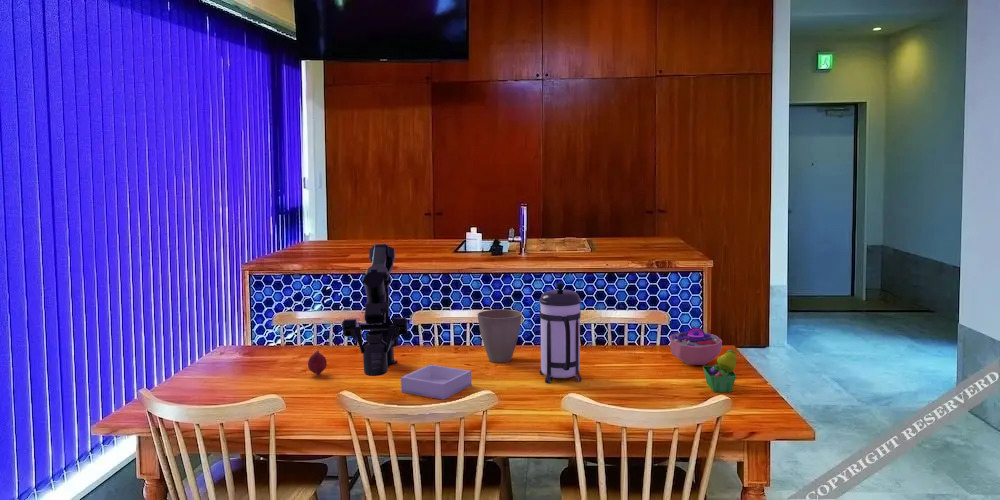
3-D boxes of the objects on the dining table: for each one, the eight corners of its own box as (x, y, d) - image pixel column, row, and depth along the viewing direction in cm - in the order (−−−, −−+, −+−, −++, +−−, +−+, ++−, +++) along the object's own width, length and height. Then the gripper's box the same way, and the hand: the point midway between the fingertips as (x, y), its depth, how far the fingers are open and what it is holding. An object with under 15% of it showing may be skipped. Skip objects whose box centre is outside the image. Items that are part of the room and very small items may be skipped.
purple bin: (430, 378, 239) (430, 364, 238) (471, 385, 231) (471, 370, 231) (401, 391, 226) (400, 377, 225) (443, 399, 218) (443, 384, 218)
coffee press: (524, 379, 236) (523, 283, 233) (556, 368, 248) (556, 276, 244) (568, 390, 225) (568, 290, 221) (600, 378, 236) (600, 282, 232)
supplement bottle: (391, 370, 225) (390, 330, 223) (381, 377, 218) (380, 336, 216) (370, 368, 226) (368, 329, 225) (359, 375, 220) (358, 335, 218)
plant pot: (531, 360, 257) (530, 314, 255) (494, 368, 249) (493, 320, 247) (505, 351, 269) (505, 307, 267) (469, 358, 261) (468, 312, 259)
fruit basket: (701, 381, 232) (702, 345, 230) (730, 381, 231) (731, 345, 230) (710, 393, 220) (711, 355, 219) (741, 393, 220) (742, 355, 219)
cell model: (663, 368, 246) (664, 334, 244) (674, 353, 264) (674, 321, 263) (718, 374, 239) (718, 338, 238) (724, 357, 258) (725, 324, 256)
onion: (322, 377, 241) (321, 353, 240) (305, 377, 242) (304, 352, 241) (330, 372, 247) (328, 348, 246) (313, 371, 248) (312, 347, 247)
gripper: (341, 292, 222) (338, 339, 213) (406, 290, 224) (405, 337, 214) (345, 312, 231) (342, 358, 222) (407, 311, 232) (407, 356, 223)
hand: (374, 352), depth 220 cm, fingers closed on supplement bottle, 7 cm apart
